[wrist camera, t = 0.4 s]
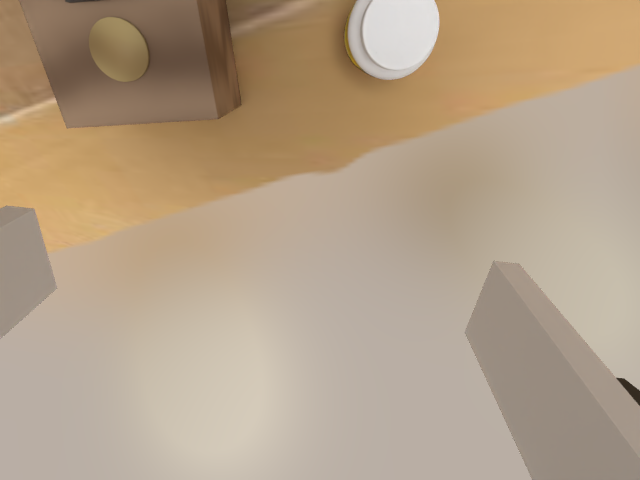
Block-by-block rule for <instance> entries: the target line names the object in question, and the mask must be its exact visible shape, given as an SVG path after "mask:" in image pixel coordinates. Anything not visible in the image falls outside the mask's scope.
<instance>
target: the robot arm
mask: <svg viewBox="0 0 640 480" xmlns="http://www.w3.org/2000/svg"><path fill="white" fill-rule="evenodd" d="M56 289H57V286H56V282H55V279H54V276H53V272H52V269H51V265H50V261H49V258H48V255H47V251H46V248H45V244H44V241H43V237H42V234H41V230H40V227H39V223H38V220H37V216H36V213H35V209H32V208H23V207H15V206H5V207H3V208H1V209H0V339H1V338H2V337H3V336H4V335H5V334H7V333H8V332H9V331H10V330H11V329H12V328H13V327H14V326H16V325H17V324H18V323H19V322H20V321H21V320H22V319H23V318H24V317H26V316H27V315H28V314H29V313H30V312H31V311H32V310H33V309H35V308H36V307H37V306H38V305H39V304H40V303H41V302H42V301H44V299H46V298H47V297H48V296H49V295H50V294H51V293H53V292H54V291H55V290H56ZM465 334H466V336H467V338H468V340H469V343H470V345H471V347H472V349H473V351H474V353H475V356H476V358H477V360H478V362H479V364H480V367H481V368H482V371H483V373H484V375H485V377H486V380H487V382H488V384H489V386H490V388H491V391H492V392H493V395H494V397H495V399H496V401H497V404H498V406H499V408H500V410H501V412H502V415H503V417H504V419H505V421H506V423H507V425H508V428H509V430H510V432H511V434H512V436H513V438H514V441H515V443H516V445H517V447H518V450H519V452H520V454H521V456H522V458H523V460H524V462H525V465H526V467H527V469H528V471H529V473H530V475H531V478H532V480H640V391H639V390H638V389H637V388H635V387H634V386H633V385H632V384H630V383H629V382H628V381H626V380H625V379H622V378H615V376H614V375H613V374H612V373H611V372H610V370H609V369H608V368H607V367H606V366H605V364H604V363H603V362H602V361H601V360H600V359H599V357H598V356H597V355H596V354H595V353H594V352H593V350H592V349H591V348H590V347H589V346H588V344H587V343H586V342H585V341H584V340H583V339H582V337H581V336H580V335H579V334H578V333H577V332H576V330H575V329H574V328H573V327H572V325H571V324H570V323H569V322H568V321H567V320H566V319H565V317H564V316H563V315H562V314H561V313H560V311H559V310H558V309H557V308H556V307H555V305H554V304H553V303H552V302H551V301H550V300H549V298H548V297H547V296H546V295H545V294H544V293H543V291H542V290H541V289H540V288H539V287H538V285H537V284H536V283H535V282H534V281H533V279H531V277H530V276H529V275H528V274H527V272H526V271H525V270H524V269H523V268H522V266H521V265H520V264H517V263H508V262H499V261H493V264H492V266H491V268H490V271H489V273H488V276H487V278H486V281H485V283H484V286H483V289H482V291H481V293H480V296H479V298H478V300H477V303H476V306H475V308H474V310H473V313H472V316H471V318H470V320H469V323H468V325H467V328H466V331H465Z"/></svg>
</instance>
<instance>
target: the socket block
mask: <svg viewBox="0 0 640 480" xmlns="http://www.w3.org/2000/svg"><path fill="white" fill-rule="evenodd" d="M19 1H20V4H21V7H22V9H23V12H24V15H25V17H26V20H27V23H28V25H29V28H30V31H31V34H32V36H33V39H34V42H35V44H36V47H37V50H38V52H39V55H40V58H41V60H42V63H43V66H44V68H45V71H46V74H47V76H48V79H49V82H50V84H51V87H52V90H53V93H54V95H55V98H56V101H57V103H58V106H59V109H60V111H61V114H62V117H63V119H64V122H65V125H66V127H67V128H80V127H97V126H113V125H129V124H146V123H162V122H179V121H195V120H211V119H219V118H221V117H223V116H224V115H226V114H228V113H229V112H231V111H232V110H234V109H236V108H237V107H239V106H241V98H240V92H239V85H238V79H237V72H236V66H235V59H234V53H233V46H232V40H231V33H230V26H229V20H228V13H227V7H226V0H19Z"/></svg>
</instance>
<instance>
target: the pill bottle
mask: <svg viewBox="0 0 640 480" xmlns="http://www.w3.org/2000/svg"><path fill="white" fill-rule="evenodd" d="M438 31H439V13H438V9H437V5H436V3H435V1H434V0H357V1H356V3H355V4H354V6H353V8H352V10H351V11H350V13H349V15H348V18H347V21H346V24H345V29H344V44H345V48H346V51H347V54H348V56H349V58H350V59H351V61H352V62H353V63H354V65H356V66H357V67H358V68H359V69H360V70H362V71H364V72H365V73H367V74H369V75H371V76H373V77H376V78H379V79H384V80H394V79H399V78H403V77H405V76H407V75H409V74H411V73H413V72H414V71H416V70H417V69H418V68H419V67H420V66H421V65H422V64H423V63H424V62H425V61H426V59H427V58H428V57H429V55H430V53H431V52H432V50H433V48H434V45H435V42H436V39H437V35H438Z"/></svg>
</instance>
